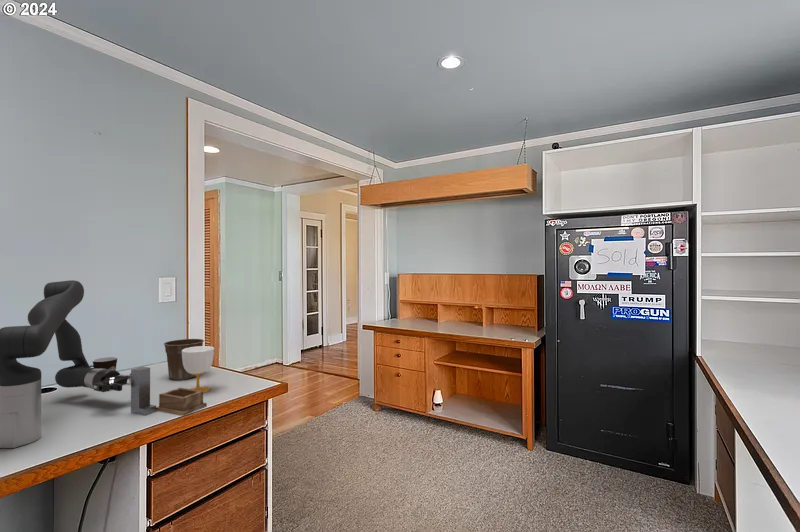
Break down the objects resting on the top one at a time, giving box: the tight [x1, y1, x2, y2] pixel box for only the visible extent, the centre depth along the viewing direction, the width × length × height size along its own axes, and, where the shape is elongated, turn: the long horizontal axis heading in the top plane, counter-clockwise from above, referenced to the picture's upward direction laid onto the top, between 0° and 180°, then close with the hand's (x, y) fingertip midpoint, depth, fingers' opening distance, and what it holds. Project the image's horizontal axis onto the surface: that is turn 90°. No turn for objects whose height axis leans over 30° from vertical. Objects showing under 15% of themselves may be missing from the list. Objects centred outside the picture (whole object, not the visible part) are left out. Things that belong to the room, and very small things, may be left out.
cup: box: [182, 345, 215, 394], centre depth 160 cm, size 12×12×17 cm
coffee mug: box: [89, 356, 118, 371], centre depth 170 cm, size 12×9×10 cm
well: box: [156, 387, 208, 416], centre depth 141 cm, size 10×13×6 cm
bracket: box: [130, 366, 157, 416], centre depth 137 cm, size 4×7×15 cm, turn 69°
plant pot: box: [163, 338, 205, 381], centre depth 181 cm, size 16×16×16 cm
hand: (133, 384), depth 139 cm, fingers open, 8 cm apart
